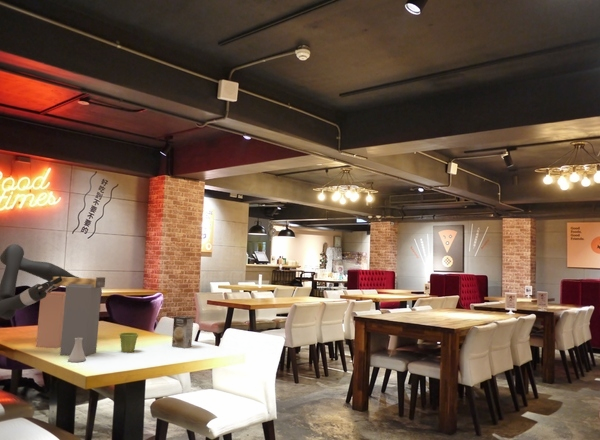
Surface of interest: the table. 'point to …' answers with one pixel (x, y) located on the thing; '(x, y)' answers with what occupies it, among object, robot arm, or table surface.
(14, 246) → the robot arm
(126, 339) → the plant pot
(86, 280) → the wooden pin
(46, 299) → the block
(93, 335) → the grey stand
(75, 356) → the flask
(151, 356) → the table surface
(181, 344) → the coffee box
